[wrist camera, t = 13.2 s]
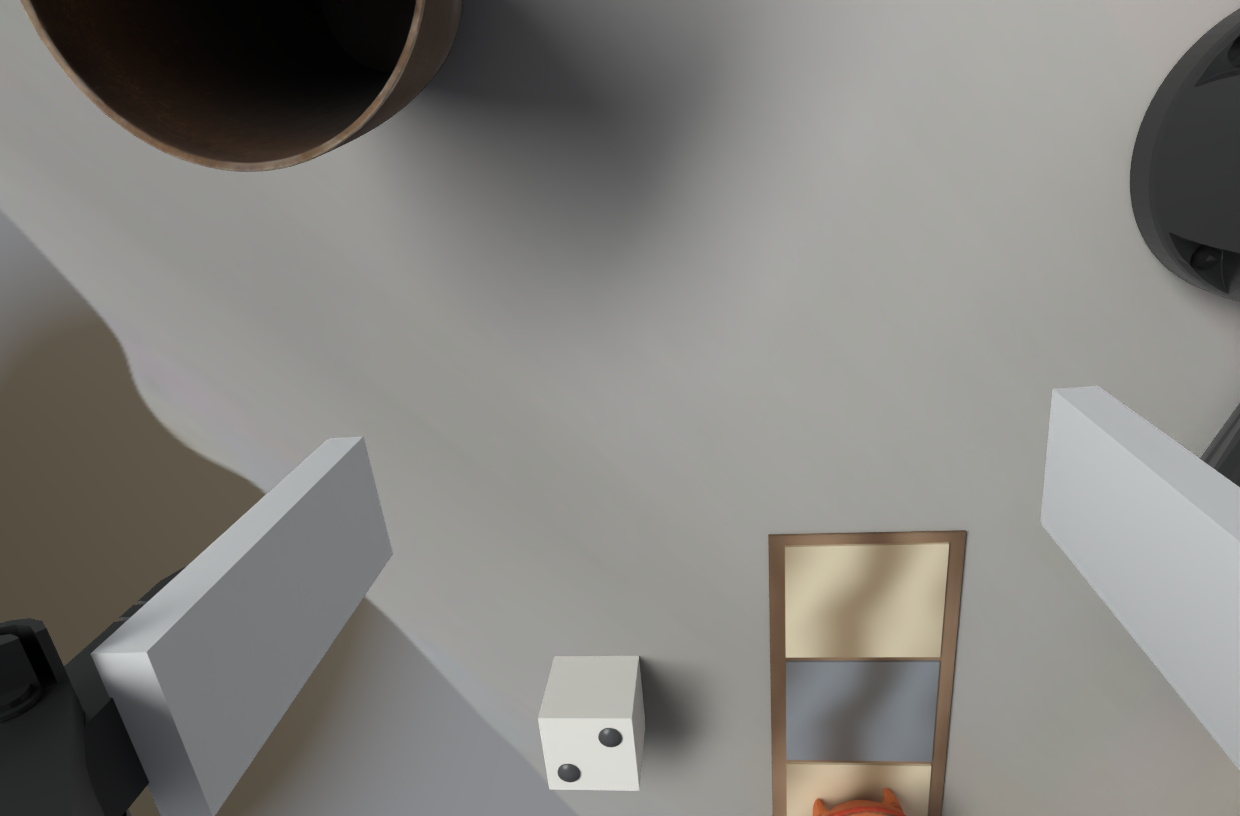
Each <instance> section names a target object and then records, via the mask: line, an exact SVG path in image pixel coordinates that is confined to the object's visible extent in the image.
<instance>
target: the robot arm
mask: <svg viewBox="0 0 1240 816" xmlns="http://www.w3.org/2000/svg"><path fill="white" fill-rule="evenodd" d="M1130 193H1131V201H1132V207H1133V212H1134V216H1135V219H1136V222H1137V225H1138V227H1139V230H1140V232H1141V234H1142V236H1143V238H1144V240H1145V242H1146V244H1147V245H1148V247H1149V248H1150V250H1151V251H1152V252H1153V254H1154V255H1155V256H1156V257H1157V259H1158V260H1159V261H1160V262H1161V263H1162V264H1163V265H1164V266H1165V267H1167V268H1168V269H1169V270H1170V271H1171V272H1173V273H1174V274H1175V275H1177V276H1178V277H1180V278H1181V279H1183V280H1185V281H1187V282H1188V283H1190V284H1192V285H1195V286H1197V287H1199V288H1202V289H1205V290H1207V291H1210V292H1213V293H1215V294H1218V295H1221V296H1224V297H1226V298H1229V299H1233V300H1236V301H1240V9H1238V10H1236V11H1235V12H1233V13H1232V14H1230V15H1229V16H1227V17H1226V18H1225V19H1223V20H1222V21H1221V22H1219V23H1218V24H1217V25H1215V26H1214V27H1213V28H1212V29H1210V30H1209V31H1208V32H1207V33H1206V34H1204V35H1203V36H1202V37H1201V38H1200V39H1199V40H1198V41H1197V42H1196V43H1195V44H1194V45H1193V46H1192V47H1191V48H1190V49H1189V50H1188V51H1187V52H1186V53H1185V54H1184V55H1183V56H1182V58H1181V59H1180V60H1179V61H1178V62H1177V64H1176V65H1175V66H1174V67H1173V69H1172V70H1171V71H1170V73H1169V74H1168V75H1167V77H1166V78H1165V80H1164V81H1163V83H1162V84H1161V86H1160V87H1159V89H1158V90H1157V92H1156V94H1155V96H1154V98H1153V99H1152V101H1151V103H1150V105H1149V107H1148V109H1147V111H1146V113H1145V116H1144V118H1143V121H1142V123H1141V126H1140V129H1139V132H1138V135H1137V138H1136V142H1135V146H1134V150H1133V155H1132V161H1131V170H1130ZM1040 523H1041V524H1042V526H1043V527H1044V528H1045V529H1046V531H1047V532H1048V533H1049V534H1050V535H1051V537H1052V538H1053V539H1054V540H1055V542H1056V543H1057V544H1058V545H1059V547H1060V548H1061V549H1062V550H1063V552H1064V553H1065V554H1066V555H1067V557H1068V558H1069V559H1070V560H1071V562H1072V563H1073V564H1074V565H1075V567H1076V568H1077V569H1078V570H1079V571H1080V573H1081V574H1082V575H1083V576H1084V578H1085V579H1086V580H1087V581H1088V583H1089V584H1090V585H1091V586H1092V588H1093V589H1094V590H1095V591H1096V593H1097V594H1098V595H1099V596H1100V598H1101V599H1102V600H1103V601H1104V603H1105V604H1106V605H1107V606H1108V608H1109V609H1110V610H1111V611H1112V612H1113V614H1114V615H1115V616H1116V617H1117V619H1118V620H1119V621H1120V622H1121V624H1122V625H1123V626H1124V627H1125V629H1126V630H1127V631H1128V632H1129V634H1130V635H1131V636H1132V637H1133V639H1134V640H1135V641H1136V642H1137V644H1138V645H1139V646H1140V647H1141V648H1142V650H1143V651H1144V652H1145V653H1146V655H1147V656H1148V657H1149V658H1150V660H1151V661H1152V662H1153V663H1154V665H1155V666H1156V667H1157V668H1158V670H1159V671H1160V672H1161V673H1162V675H1163V676H1164V677H1165V678H1166V680H1167V681H1168V682H1169V683H1170V684H1171V686H1172V687H1173V688H1174V689H1175V691H1176V692H1177V693H1178V694H1179V696H1180V697H1181V698H1182V699H1183V701H1184V702H1185V703H1186V704H1187V706H1188V707H1189V708H1190V709H1191V711H1192V712H1193V713H1194V714H1195V716H1196V717H1197V718H1198V719H1199V720H1200V722H1201V723H1202V724H1203V725H1204V727H1205V728H1206V729H1207V730H1208V732H1209V733H1210V734H1211V735H1212V737H1213V738H1214V739H1215V740H1216V742H1217V743H1218V744H1219V745H1220V747H1221V748H1222V749H1223V750H1224V752H1225V753H1226V754H1227V755H1228V756H1229V758H1230V759H1231V760H1232V761H1233V763H1234V764H1235V765H1236V766H1237V768H1238V769H1239V770H1240V403H1239V405H1238V406H1237V407H1236V409H1235V410H1234V412H1233V413H1232V415H1231V416H1230V417H1229V419H1228V420H1227V422H1226V423H1225V424H1224V426H1223V427H1222V429H1221V430H1220V431H1219V433H1218V434H1217V436H1216V437H1215V438H1214V440H1213V441H1212V443H1211V444H1210V445H1209V447H1208V448H1207V450H1206V451H1205V452H1204V454H1203V455H1202V457H1201V458H1198V457H1197V456H1195V455H1194V454H1193V453H1191V452H1190V451H1188V450H1187V449H1186V448H1184V447H1183V446H1181V445H1180V444H1179V443H1177V442H1176V441H1174V440H1173V439H1172V438H1170V437H1169V436H1167V435H1166V434H1165V433H1163V432H1162V431H1160V430H1159V429H1158V428H1156V427H1155V426H1153V425H1152V424H1151V423H1149V422H1148V421H1147V420H1145V419H1144V418H1142V417H1141V416H1140V415H1138V414H1137V413H1135V412H1134V411H1133V410H1131V409H1130V408H1128V407H1127V406H1126V405H1124V404H1123V403H1121V402H1120V401H1119V400H1117V399H1116V398H1114V397H1113V396H1112V395H1110V394H1109V393H1107V392H1106V391H1105V390H1103V389H1102V388H1100V387H1099V386H1088V387H1074V388H1059V389H1053V391H1052V402H1051V412H1050V423H1049V434H1048V445H1047V456H1046V467H1045V478H1044V489H1043V500H1042V511H1041V522H1040ZM392 554H393V552H392V548H391V544H390V540H389V537H388V533H387V529H386V525H385V521H384V517H383V513H382V509H381V505H380V501H379V497H378V493H377V489H376V485H375V481H374V477H373V473H372V469H371V465H370V461H369V457H368V453H367V449H366V445H365V441H364V437H363V436H361V437H347V438H332V439H327V440H326V441H325V442H324V443H323V444H321V445H320V446H319V447H318V448H317V449H316V450H315V451H314V452H313V453H312V454H310V455H309V456H308V457H307V458H306V459H305V460H304V461H303V462H302V463H300V464H299V465H298V466H297V467H296V468H295V469H294V470H293V471H292V472H291V473H289V474H288V475H287V476H286V477H285V478H284V479H283V480H282V481H281V482H280V483H278V484H277V485H276V486H275V487H274V488H273V489H272V490H271V491H270V492H268V493H267V494H266V495H265V496H264V497H263V498H262V499H261V500H260V501H259V502H258V503H256V504H255V505H254V506H253V507H252V508H251V509H250V510H249V511H248V512H246V513H245V514H244V515H243V516H242V517H241V518H240V519H239V520H238V521H236V523H234V524H233V525H232V526H231V527H230V528H229V529H228V530H227V531H225V532H224V533H223V534H222V535H221V536H220V537H219V538H218V539H217V540H215V541H214V542H213V543H212V544H211V545H210V546H209V547H208V548H207V549H206V550H205V551H204V552H203V553H201V554H200V555H199V556H198V557H197V558H196V559H195V560H193V561H192V562H191V563H190V564H189V565H187V566H185V567H184V568H182V569H180V570H179V571H177V572H175V573H173V574H172V575H170V576H168V577H167V578H165V579H163V580H161V581H160V582H159V583H158V584H156V585H155V586H154V587H153V588H152V589H151V590H150V591H149V592H147V593H146V594H145V595H144V596H143V597H142V598H141V599H140V600H138V605H133V606H132V607H131V608H129V609H128V610H127V611H126V612H125V613H124V614H123V615H122V616H121V617H119V619H120V620H119V622H114V623H113V624H111V625H110V626H109V627H108V628H107V629H106V630H105V631H104V632H103V633H101V634H100V635H99V636H98V637H97V638H96V639H95V640H93V641H92V642H91V643H90V644H89V645H88V646H87V647H86V648H84V650H82V651H81V652H80V653H79V654H78V655H77V656H75V658H73V659H72V660H71V661H70V662H69V663H68V664H66V665H65V666H63V664H62V662H61V659H60V657H59V655H58V653H57V651H56V648H55V646H54V644H53V642H52V639H51V637H50V635H49V633H48V631H47V628H46V627H45V625H44V623H43V622H42V621H39V620H35V619H20V620H11V621H7V622H4V623H0V816H131V814H130V812H129V809H128V808H129V807H130V806H131V804H132V803H133V802H134V801H135V799H136V798H137V797H138V796H139V795H140V793H141V792H142V791H143V790H144V788H145V787H146V786H147V785H148V787H149V790H150V792H151V794H152V797H153V799H154V801H155V803H156V806H157V808H158V810H159V812H160V815H161V816H215V815H216V813H217V812H218V810H219V809H220V807H221V806H222V804H223V803H224V801H225V800H226V798H227V797H228V795H229V794H230V793H231V791H232V790H233V788H234V787H235V785H236V784H237V782H238V781H239V779H240V778H241V776H242V775H243V774H244V772H245V771H246V769H247V768H248V766H249V765H250V763H251V762H252V760H253V759H254V757H255V756H256V754H257V753H258V751H259V750H260V748H261V747H262V746H263V744H264V743H265V741H266V740H267V738H268V737H269V735H270V734H271V732H272V731H273V729H274V728H275V726H276V725H277V723H278V722H279V721H280V719H281V718H282V716H283V715H284V713H285V712H286V710H287V709H288V707H289V706H290V704H291V703H292V701H293V700H294V699H295V697H296V696H297V694H298V693H299V691H300V690H301V688H302V687H303V685H304V684H305V682H306V681H307V679H308V678H309V676H310V675H311V674H312V672H313V671H314V669H315V668H316V666H317V665H318V663H319V662H320V660H321V659H322V657H323V656H324V654H325V653H326V651H327V650H328V649H329V647H330V646H331V644H332V643H333V641H334V639H335V638H336V637H337V635H338V634H339V632H340V631H341V629H342V628H343V626H344V625H345V623H346V622H347V620H348V619H349V617H350V616H351V614H352V613H353V612H354V610H355V609H356V607H357V606H358V604H359V603H360V601H361V600H362V598H363V597H364V596H365V594H366V593H367V591H368V590H369V588H370V587H371V585H372V584H373V582H374V581H375V579H376V578H377V576H378V575H379V573H380V572H381V571H382V569H383V568H384V566H385V565H386V563H387V562H388V560H389V559H390V557H391V556H392Z"/></svg>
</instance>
